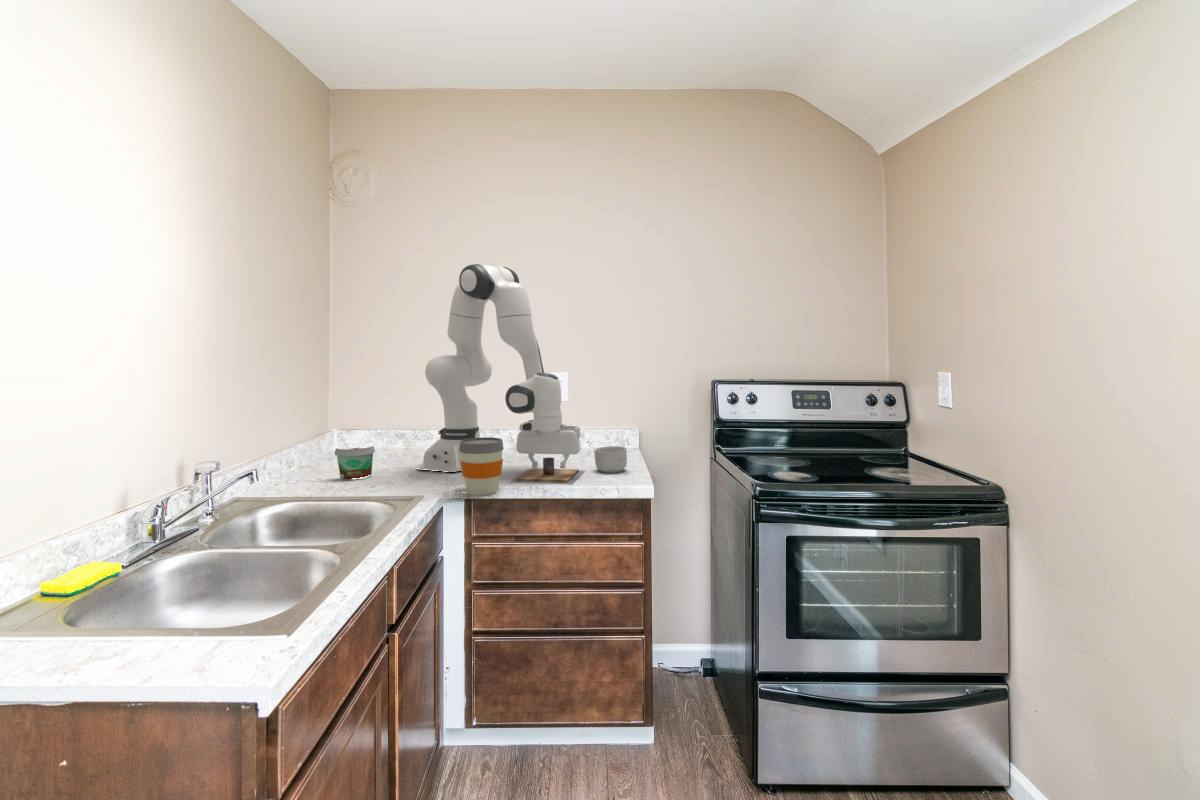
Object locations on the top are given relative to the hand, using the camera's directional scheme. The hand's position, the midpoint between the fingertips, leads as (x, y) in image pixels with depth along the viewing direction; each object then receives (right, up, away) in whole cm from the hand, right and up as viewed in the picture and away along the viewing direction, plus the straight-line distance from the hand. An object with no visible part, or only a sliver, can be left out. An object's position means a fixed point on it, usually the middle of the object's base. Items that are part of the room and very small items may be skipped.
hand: (549, 467), depth 196 cm
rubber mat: (0, -3, +1) cm, 3 cm away
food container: (-62, -4, +2) cm, 62 cm away
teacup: (+20, -2, +10) cm, 23 cm away
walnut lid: (0, -3, +1) cm, 3 cm away
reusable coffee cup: (-18, -5, -17) cm, 25 cm away
